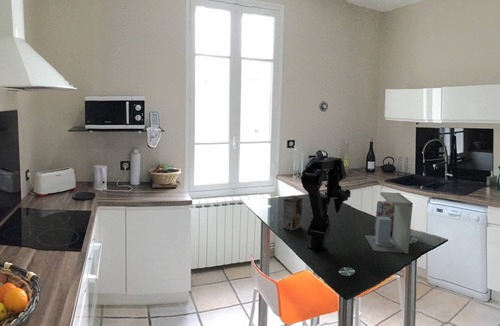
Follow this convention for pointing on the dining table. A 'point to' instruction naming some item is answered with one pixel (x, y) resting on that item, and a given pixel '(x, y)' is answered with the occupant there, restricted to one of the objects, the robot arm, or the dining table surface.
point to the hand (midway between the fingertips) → (331, 214)
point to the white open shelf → (396, 225)
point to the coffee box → (292, 213)
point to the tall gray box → (383, 230)
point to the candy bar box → (385, 211)
